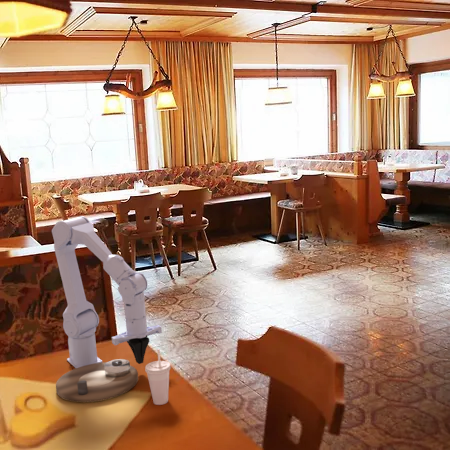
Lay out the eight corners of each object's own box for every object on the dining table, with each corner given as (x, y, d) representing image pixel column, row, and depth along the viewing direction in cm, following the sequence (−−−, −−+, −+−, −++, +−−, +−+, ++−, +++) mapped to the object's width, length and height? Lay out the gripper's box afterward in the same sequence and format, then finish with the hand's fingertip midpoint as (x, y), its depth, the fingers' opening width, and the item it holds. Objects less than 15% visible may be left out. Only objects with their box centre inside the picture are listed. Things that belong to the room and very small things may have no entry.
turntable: (46, 381, 165) (44, 366, 164) (119, 360, 177) (117, 346, 176) (72, 410, 147) (70, 393, 146) (151, 385, 158) (150, 369, 158)
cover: (101, 371, 166) (100, 361, 165) (124, 365, 169) (123, 355, 169) (110, 379, 160) (109, 369, 159) (134, 372, 164) (133, 362, 163)
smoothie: (169, 407, 146) (164, 354, 144) (144, 406, 148) (139, 353, 145) (176, 396, 152) (172, 344, 150) (152, 395, 154) (148, 344, 151)
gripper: (117, 326, 159) (121, 373, 161) (165, 314, 166) (168, 359, 169) (107, 320, 164) (111, 365, 167) (153, 308, 172) (157, 352, 175)
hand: (139, 362), depth 168 cm, fingers closed
